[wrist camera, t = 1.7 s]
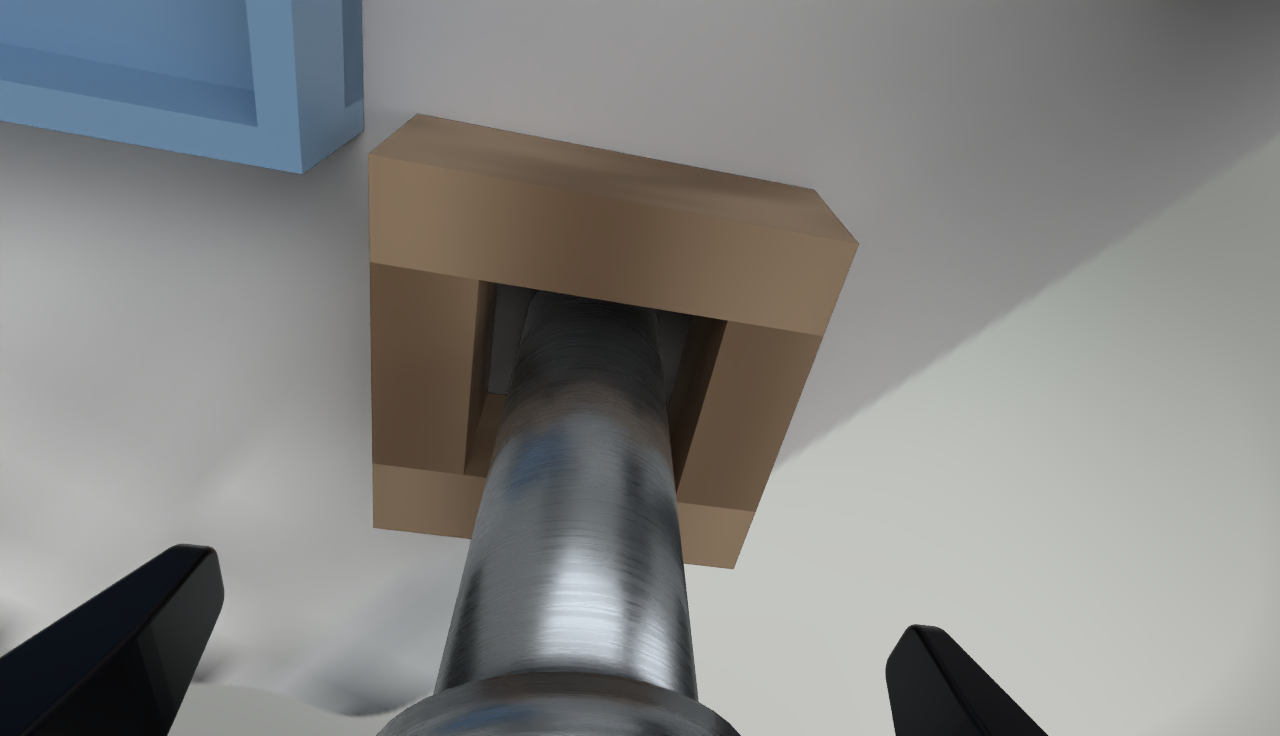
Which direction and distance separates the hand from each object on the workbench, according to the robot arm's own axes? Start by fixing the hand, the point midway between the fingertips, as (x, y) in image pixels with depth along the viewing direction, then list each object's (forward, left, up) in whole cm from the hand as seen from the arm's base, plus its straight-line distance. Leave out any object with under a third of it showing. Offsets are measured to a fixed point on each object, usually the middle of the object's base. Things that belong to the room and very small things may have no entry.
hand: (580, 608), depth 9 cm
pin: (0, 0, -8) cm, 8 cm away
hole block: (0, 0, -8) cm, 8 cm away
